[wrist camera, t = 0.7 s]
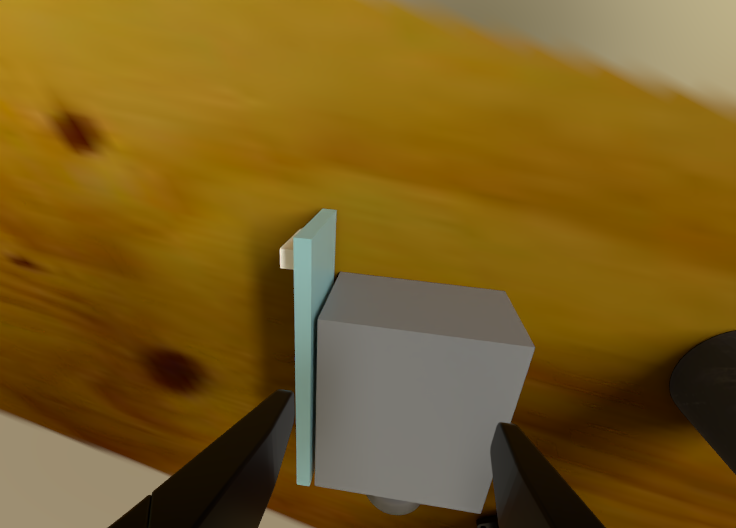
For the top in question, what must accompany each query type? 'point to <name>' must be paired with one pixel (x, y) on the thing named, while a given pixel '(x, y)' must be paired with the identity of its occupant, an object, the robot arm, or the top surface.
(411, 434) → the block
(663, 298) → the top surface
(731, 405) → the travel mug
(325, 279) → the side door
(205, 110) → the top surface
